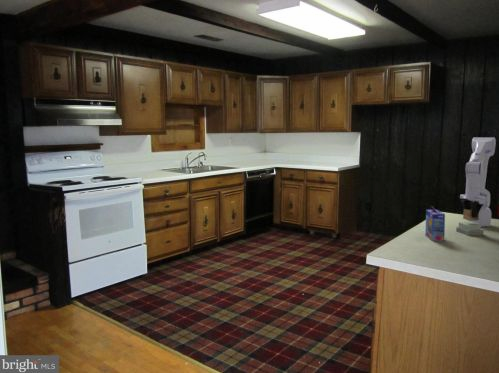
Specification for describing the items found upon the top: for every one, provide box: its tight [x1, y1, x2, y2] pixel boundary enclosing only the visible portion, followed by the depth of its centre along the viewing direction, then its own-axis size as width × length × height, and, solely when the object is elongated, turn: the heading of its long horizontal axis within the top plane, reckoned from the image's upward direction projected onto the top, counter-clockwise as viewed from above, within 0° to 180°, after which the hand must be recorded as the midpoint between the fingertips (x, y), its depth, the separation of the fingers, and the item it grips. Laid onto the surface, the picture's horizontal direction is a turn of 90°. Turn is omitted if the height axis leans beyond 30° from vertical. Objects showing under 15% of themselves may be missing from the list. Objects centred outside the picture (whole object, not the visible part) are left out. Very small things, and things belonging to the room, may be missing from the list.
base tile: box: [455, 226, 485, 237], centre depth 191 cm, size 8×8×2 cm
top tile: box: [458, 221, 482, 231], centre depth 191 cm, size 6×6×2 cm
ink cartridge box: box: [425, 205, 446, 242], centre depth 182 cm, size 10×6×14 cm, turn 174°
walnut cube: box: [462, 208, 479, 222], centre depth 190 cm, size 4×4×4 cm
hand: (470, 216), depth 190 cm, fingers closed on walnut cube, 4 cm apart
